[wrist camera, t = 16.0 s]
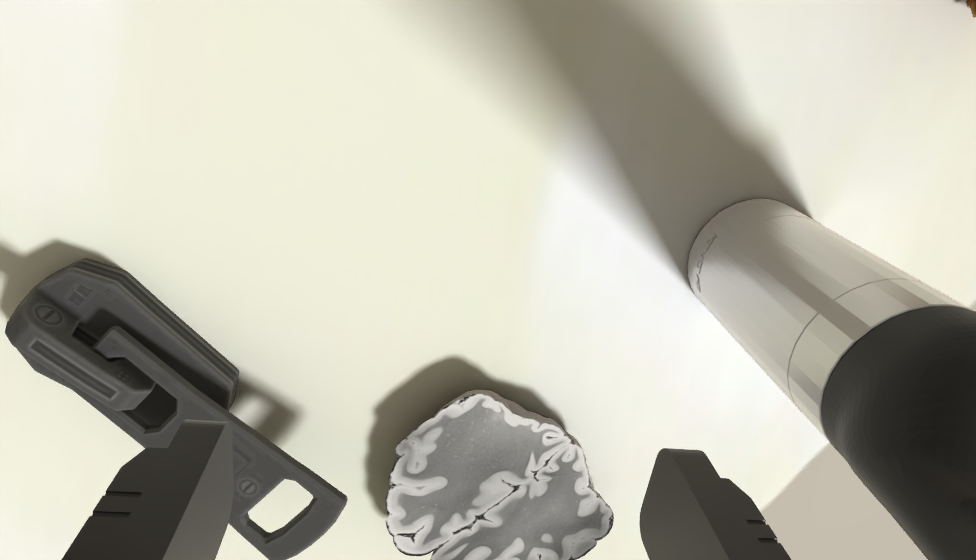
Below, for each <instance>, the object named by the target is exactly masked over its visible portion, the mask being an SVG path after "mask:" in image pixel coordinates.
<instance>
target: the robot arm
mask: <svg viewBox="0 0 976 560" xmlns="http://www.w3.org/2000/svg"><path fill="white" fill-rule="evenodd" d="M688 278H689V282H690V285H691V288H692V290H693V292H694V293H695V295H696V297H697V298H698V299H699V300H700V301H701V302H702V303H703V305H704V306H705V307H706V308H707V309H708V310H709V311H710V312H711V313H712V314H713V315H714V317H715V318H716V319H717V320H718V321H719V322H720V323H721V325H722V326H723V327H724V328H725V329H726V330H727V331H728V332H729V333H730V334H731V336H732V337H733V338H734V339H735V340H736V341H737V342H738V343H739V344H740V345H741V346H742V348H743V349H744V350H745V351H746V352H747V353H748V354H749V355H750V356H751V357H752V359H753V360H754V361H755V362H756V363H757V364H758V365H759V366H760V367H761V368H762V369H763V371H764V372H765V373H766V374H767V375H768V376H769V377H770V378H771V379H772V380H773V381H774V383H775V384H776V385H777V386H778V387H779V388H780V389H781V390H782V391H783V392H784V393H785V395H786V396H787V397H788V398H789V399H790V400H791V401H792V402H793V403H794V404H795V406H796V407H797V408H798V409H799V410H800V411H801V412H802V413H803V414H804V415H805V416H806V417H807V418H808V419H809V420H810V422H811V423H812V424H813V425H814V426H815V427H816V428H817V429H818V430H819V431H820V432H821V434H822V435H823V436H824V437H825V438H826V439H827V440H828V441H829V442H830V443H831V444H832V445H833V447H834V448H835V449H836V450H837V451H838V452H839V453H840V454H841V455H842V456H843V457H844V458H845V460H846V461H847V462H848V464H849V465H850V466H851V468H852V469H853V471H854V472H855V474H856V475H857V476H858V477H859V479H860V480H861V481H862V482H863V484H864V485H865V486H866V487H867V488H868V489H869V490H870V492H871V493H872V494H873V495H874V496H875V497H876V498H877V499H878V501H879V502H880V503H881V504H882V505H883V506H884V507H885V508H886V509H887V511H888V512H889V513H890V514H891V515H892V516H893V518H894V519H895V520H896V521H897V523H899V525H900V526H901V527H902V528H903V530H904V531H905V532H906V533H907V534H908V536H909V537H910V538H911V539H912V540H913V542H914V543H915V544H916V545H917V547H918V548H919V549H920V550H921V552H922V553H923V554H924V555H925V557H926V558H927V559H928V560H976V312H975V311H973V310H971V309H970V308H968V307H966V306H964V305H963V304H961V303H959V302H957V301H955V300H954V299H952V298H950V297H948V296H947V295H945V294H943V293H941V292H940V291H938V290H936V289H934V288H932V287H930V286H928V285H927V284H925V283H923V282H921V281H920V280H918V279H916V278H914V277H913V276H911V275H909V274H907V273H906V272H904V271H902V270H900V269H899V268H897V267H895V266H893V265H892V264H890V263H888V262H886V261H884V260H883V259H881V258H879V257H877V256H876V255H874V254H872V253H870V252H869V251H867V250H865V249H863V248H862V247H860V246H858V245H856V244H855V243H853V242H851V241H849V240H848V239H846V238H844V237H842V236H841V235H839V234H837V233H835V232H833V231H832V230H830V229H828V228H826V227H825V226H823V225H821V224H820V223H818V222H817V221H815V220H813V219H811V218H809V217H808V216H806V215H804V214H802V213H801V212H799V211H797V210H795V209H794V208H792V207H790V206H788V205H786V204H784V203H781V202H779V201H776V200H771V199H763V198H761V199H750V200H746V201H742V202H739V203H736V204H734V205H732V206H730V207H728V208H726V209H724V210H722V211H721V212H720V213H718V214H717V215H716V216H714V217H713V218H712V219H711V220H710V221H709V222H708V223H707V224H706V225H705V226H704V227H703V228H702V230H701V231H700V233H699V234H698V236H697V237H696V239H695V241H694V243H693V246H692V248H691V251H690V254H689V260H688ZM233 492H234V482H233V432H232V425H231V423H230V422H223V421H206V420H188V419H187V420H184V421H183V423H182V424H181V426H180V427H179V429H178V431H177V433H176V434H175V436H174V438H173V440H172V441H171V443H170V445H169V447H168V448H152V447H147V448H146V449H145V450H143V451H142V452H141V453H139V454H138V455H137V456H135V457H134V458H133V459H131V460H130V461H129V462H127V463H126V464H125V465H124V466H122V467H121V469H120V470H119V472H118V473H117V475H116V476H115V478H114V479H113V481H112V482H111V484H110V486H109V487H108V489H107V490H106V494H105V496H102V498H101V499H100V501H99V503H98V504H97V506H96V507H95V509H94V510H93V515H92V516H90V517H89V518H88V520H87V521H86V523H85V524H84V526H83V527H82V529H81V530H80V532H79V534H78V535H77V537H76V538H75V540H74V541H73V543H72V544H71V546H70V548H69V549H68V551H67V552H66V554H65V555H64V557H63V558H62V560H215V558H216V555H217V553H218V550H219V547H220V544H221V542H222V539H223V536H224V534H225V531H226V528H227V525H228V522H229V518H230V514H231V509H232V503H233ZM640 532H641V537H642V541H643V544H644V547H645V549H646V552H647V554H648V557H649V559H650V560H791V559H790V557H789V555H788V554H787V552H786V551H785V550H784V548H783V546H782V545H781V544H780V543H778V542H777V537H776V536H775V534H774V533H773V531H772V530H771V528H770V527H769V525H766V524H765V519H764V517H763V516H762V514H761V513H760V511H759V510H758V508H757V507H756V505H755V504H754V502H753V501H752V499H751V498H750V497H749V496H748V495H747V494H745V493H744V492H743V491H742V490H741V489H740V488H739V487H737V486H736V485H735V484H734V483H733V482H732V481H731V480H729V479H726V478H720V477H719V475H718V473H717V472H716V470H715V469H714V467H713V465H712V464H711V462H710V461H709V459H708V457H707V456H706V454H705V453H704V452H702V451H700V450H685V449H667V448H664V449H662V450H660V452H659V453H658V455H657V458H656V461H655V464H654V468H653V471H652V474H651V478H650V481H649V484H648V487H647V491H646V494H645V497H644V501H643V504H642V507H641V512H640Z"/></svg>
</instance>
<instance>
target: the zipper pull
mask: <svg viewBox="0 0 976 560" xmlns="http://www.w3.org/2000/svg"><path fill="white" fill-rule="evenodd" d="M5 333H6V335H7V337H8V339H9V340H10V342H11V344H12V345H13V346H14V347H16V348H17V349H18V351H19V352H20V353H21V354H22V356H23V357H24V358H25V359H26V360H27V362H28V363H29V364H30V365H31V367H32V368H33V369H34V370H35V371H37V372H38V373H40V374H42V375H44V376H46V377H48V378H50V379H52V380H54V381H56V382H58V383H60V384H62V385H64V386H66V387H68V388H70V389H72V390H73V391H75V392H76V393H77V394H78V395H80V396H81V397H82V398H83V399H85V400H86V401H87V402H88V403H90V404H91V405H92V406H93V407H95V408H96V409H97V410H98V411H100V412H101V413H102V414H103V415H105V416H106V417H107V418H108V419H110V420H111V421H112V422H113V423H115V424H116V425H117V426H118V427H120V428H121V429H122V430H123V431H125V432H126V433H127V434H128V435H130V436H131V437H132V438H133V439H135V440H136V441H137V442H138V443H140V444H141V445H142V446H143V447H144V448H145V449H146V448H147V447H152V448H168V447H169V445H170V443H171V441H172V440H173V438H174V436H175V434H176V433H177V431H178V429H179V427H180V426H181V424H182V423H183V421H184V420H187V419H188V420H206V421H223V422H230V423H231V425H232V432H233V482H234V492H233V503H232V509H231V514H230V518H229V522H228V523H229V524H230V525H231V526H232V527H233V528H234V529H235V530H236V531H237V532H239V533H240V534H241V535H242V536H243V537H244V538H245V539H246V540H248V541H249V542H250V543H251V544H252V545H253V546H254V547H255V548H257V549H258V550H259V551H260V552H261V553H262V554H263V555H264V556H266V557H267V558H268V559H269V560H287V559H289V558H291V557H293V556H296V555H297V554H299V553H300V552H302V551H303V550H305V549H306V548H308V547H309V546H311V545H312V544H313V543H314V542H315V541H317V540H318V539H319V538H320V537H321V536H322V535H324V534H325V532H326V531H327V530H328V529H329V528H330V527H331V526H332V525H333V524H334V523H335V522H336V520H337V518H338V517H339V515H340V514H341V512H342V510H343V509H344V507H345V505H346V503H347V496H346V495H344V494H343V493H342V492H340V491H339V490H338V489H336V488H335V487H333V486H332V485H331V484H329V483H328V482H326V481H325V480H324V479H322V478H321V477H320V476H318V475H317V474H315V473H314V472H313V471H311V470H310V469H309V468H307V467H306V466H304V465H303V464H301V463H300V462H298V461H297V460H295V459H294V458H292V457H291V456H290V455H288V454H287V453H285V452H284V451H283V450H281V449H280V448H279V447H277V446H276V445H274V444H273V443H272V442H270V441H269V440H267V439H266V438H265V437H263V436H262V435H260V434H259V433H258V432H256V431H255V430H253V429H252V428H251V427H249V426H248V425H246V424H245V423H244V422H242V421H241V420H240V419H238V418H237V417H235V416H234V415H233V414H231V413H230V412H228V411H229V409H230V407H231V405H232V403H233V401H234V397H235V392H236V386H237V381H238V375H239V370H238V369H237V368H236V367H235V366H234V365H233V364H232V363H231V362H229V361H228V360H227V359H226V358H225V357H224V356H223V355H221V354H220V353H219V352H218V351H217V350H216V349H215V348H213V347H212V346H211V345H210V344H209V343H208V342H207V341H205V340H204V339H203V338H202V337H201V336H200V335H198V334H197V333H196V332H195V331H194V330H193V329H192V328H190V327H189V326H188V325H187V324H186V323H185V322H184V321H182V320H181V319H180V318H179V317H178V316H177V315H176V314H174V313H173V312H172V311H171V310H170V309H169V308H168V307H166V306H165V305H164V304H163V303H162V302H161V301H160V300H158V299H157V298H156V297H155V296H154V295H153V294H152V293H151V292H150V291H149V290H147V289H146V288H145V287H144V286H143V285H142V284H141V283H140V282H139V281H138V280H136V279H135V278H134V277H133V276H132V275H131V274H130V273H128V272H127V271H123V270H120V269H117V268H114V267H111V266H108V265H105V264H102V263H99V262H96V261H93V260H89V259H86V258H85V259H82V260H80V261H78V262H75V263H73V264H71V265H69V266H67V267H65V268H63V269H61V270H59V271H57V272H55V273H53V274H51V275H50V276H49V277H47V278H46V279H45V280H43V281H42V282H41V283H39V284H38V285H37V286H35V287H34V288H33V289H32V290H31V291H30V293H29V294H28V295H27V296H26V297H25V298H24V299H23V301H22V302H21V303H20V304H19V305H18V307H17V308H16V310H15V312H14V313H13V315H12V316H11V318H10V319H9V321H8V322H7V325H6V330H5ZM284 479H289V480H294V481H296V482H298V483H299V484H300V485H301V486H302V487H304V488H305V489H306V490H307V491H309V492H310V493H311V494H312V495H313V497H314V498H313V499H312V501H311V502H310V504H309V505H308V506H307V507H306V508H305V509H304V510H302V511H301V512H300V513H299V514H298V515H297V516H296V517H294V518H293V519H292V520H291V521H290V522H289V523H288V524H286V525H285V526H284V527H282V528H280V529H278V530H276V531H274V532H272V533H269V532H266V531H265V530H263V529H262V528H261V527H260V526H258V525H257V524H256V523H255V522H253V521H252V520H251V519H250V518H249V515H248V511H249V510H250V509H252V508H253V507H254V506H255V505H256V504H257V503H258V502H259V501H260V500H262V499H263V498H264V497H265V496H266V495H267V494H268V493H269V492H270V491H272V490H273V489H274V488H275V487H276V486H277V485H278V484H279V483H281V482H282V481H283V480H284Z"/></svg>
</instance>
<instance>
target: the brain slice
mask: <svg viewBox="0 0 976 560" xmlns="http://www.w3.org/2000/svg"><path fill="white" fill-rule="evenodd" d="M395 451H396V454H397V455H398V458H397V459H396V462H395V464H394V466H393V469H392V471H391V473H390V475H389V478H388V479H389V481H390V482H389V485H390V486H391V488H390V489H389V491H388V493H387V496H386V510H387V513H388V517H387V519H386V525H387V529H388V531H389V533H390V534H391V535H392V536H393V542H394V544H395V546H396V547H397V549H398V550H399V551H400V552H402V553H404V554H405V555H410V556H423V555H426V554H429V553H430V552H432V551H434V552H433V554H432V556H431V560H576V559H579V558H581V557H583V556H585V555H586V554H587V553H588V552H589V551H590V550H591V549H593V548H594V547H595V546H596V544H597V541H598V540H601V539H603V538H605V537H606V536H607V534H608V533H609V532H610V530H611V528H612V526H613V519H614V516H613V512H612V510H611V508H610V506H609V505H608V504H606V503H605V501H604V500H603V498H602V497H601V496H600V494H599V493H597V492H596V491H595V490H594V488H593V487H592V485H591V483H590V478H589V471H588V468H587V464H586V462H585V461H586V458H585V455H584V452H583V449H582V447H581V446H580V444H579V443H578V441H577V440H576V439H575V438H574V437H573V436H571V435H570V434H568V433H566V432H565V431H564V429H563V428H562V427H561V426H560V425H559V424H558V423H557V422H555V421H554V420H553V419H552V418H546V417H543V416H541V415H539V414H537V413H534V412H530V411H526V410H525V409H524V408H523V407H521V406H520V405H518V404H517V403H515V402H513V401H511V400H508V399H505V398H502V397H501V396H500V395H498V394H497V393H495V392H493V391H490V390H472V391H467V392H465V393H464V394H462V395H460V396H459V397H457V398H455V399H454V400H452V401H450V402H449V403H447V404H446V405H445V406H443V407H442V408H441V409H439V410H438V411H437V412H436V413H435V414H434V415H433V416H432V418H430V419H429V420H427V421H426V422H424V423H423V424H421V425H420V426H418V427H417V428H416V429H414V430H413V431H412V432H411V433H409V434H408V435H407V436H406V439H404V440H402V441H401V442H400V443H399V444H398V445H397V447H396V449H395Z"/></svg>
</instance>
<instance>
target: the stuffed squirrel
mask: <svg viewBox="0 0 976 560" xmlns="http://www.w3.org/2000/svg"><path fill="white" fill-rule="evenodd" d="M966 3H967V6H970V8H971V10H972V14H973V17H976V0H967V1H966Z"/></svg>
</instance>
